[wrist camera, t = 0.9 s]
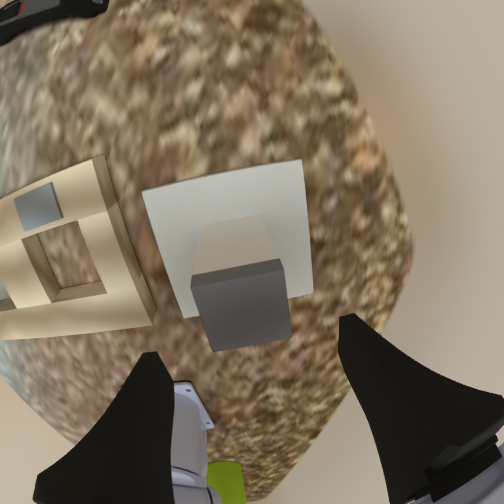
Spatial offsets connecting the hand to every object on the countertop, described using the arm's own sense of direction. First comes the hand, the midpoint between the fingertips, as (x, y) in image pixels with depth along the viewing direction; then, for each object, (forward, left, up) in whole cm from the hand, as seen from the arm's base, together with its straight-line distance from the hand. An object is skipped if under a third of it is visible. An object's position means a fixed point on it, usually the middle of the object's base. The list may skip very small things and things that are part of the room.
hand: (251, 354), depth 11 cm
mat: (0, 0, -10) cm, 10 cm away
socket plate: (+2, +17, -10) cm, 20 cm away
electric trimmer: (+21, +12, -10) cm, 26 cm away
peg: (0, 0, -10) cm, 10 cm away
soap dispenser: (-39, +10, -10) cm, 42 cm away
